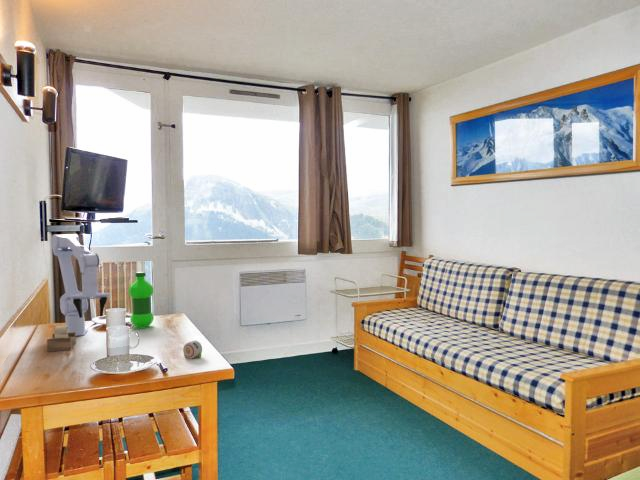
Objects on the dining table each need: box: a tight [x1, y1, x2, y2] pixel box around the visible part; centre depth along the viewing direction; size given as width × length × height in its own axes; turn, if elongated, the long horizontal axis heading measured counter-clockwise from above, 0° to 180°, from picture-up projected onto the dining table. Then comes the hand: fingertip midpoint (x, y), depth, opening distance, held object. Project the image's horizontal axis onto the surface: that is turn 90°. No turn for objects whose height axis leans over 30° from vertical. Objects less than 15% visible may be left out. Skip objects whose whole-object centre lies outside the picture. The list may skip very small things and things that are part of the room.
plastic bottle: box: [128, 271, 154, 329], centre depth 225 cm, size 10×10×25 cm
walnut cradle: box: [46, 332, 77, 352], centre depth 191 cm, size 10×8×4 cm
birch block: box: [53, 325, 68, 338], centre depth 191 cm, size 4×4×5 cm
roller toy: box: [182, 340, 203, 360], centre depth 173 cm, size 4×6×6 cm
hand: (91, 316), depth 201 cm, fingers open, 7 cm apart
